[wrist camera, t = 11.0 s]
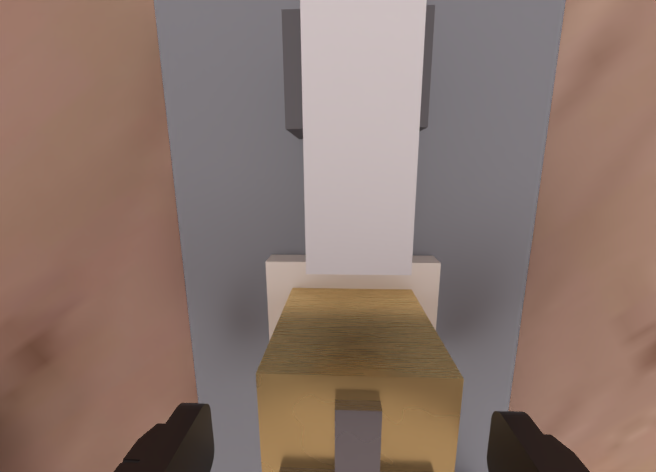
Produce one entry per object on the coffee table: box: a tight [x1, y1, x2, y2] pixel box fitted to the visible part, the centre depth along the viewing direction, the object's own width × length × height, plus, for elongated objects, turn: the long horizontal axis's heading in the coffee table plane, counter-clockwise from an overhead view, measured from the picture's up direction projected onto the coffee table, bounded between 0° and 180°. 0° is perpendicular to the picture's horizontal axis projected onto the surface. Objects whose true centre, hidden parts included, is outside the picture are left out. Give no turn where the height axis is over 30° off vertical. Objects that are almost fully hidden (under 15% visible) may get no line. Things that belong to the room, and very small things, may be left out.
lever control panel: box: [154, 0, 566, 472], centre depth 11 cm, size 27×14×6 cm, turn 0°
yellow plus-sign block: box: [256, 288, 464, 472], centre depth 9 cm, size 6×4×5 cm
